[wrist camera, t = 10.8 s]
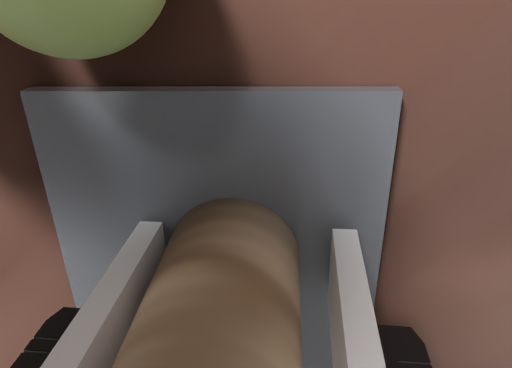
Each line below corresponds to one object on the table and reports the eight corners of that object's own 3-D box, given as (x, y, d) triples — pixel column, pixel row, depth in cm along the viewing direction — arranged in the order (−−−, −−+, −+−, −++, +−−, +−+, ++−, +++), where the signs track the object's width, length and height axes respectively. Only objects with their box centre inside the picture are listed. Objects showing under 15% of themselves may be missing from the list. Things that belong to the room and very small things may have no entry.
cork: (177, 303, 16) (101, 524, 9) (163, 197, 14) (55, 385, 7) (297, 307, 15) (303, 538, 9) (300, 198, 13) (310, 397, 7)
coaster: (96, 349, 18) (90, 360, 17) (30, 86, 13) (19, 91, 12) (362, 360, 17) (365, 373, 16) (398, 86, 12) (403, 91, 12)
